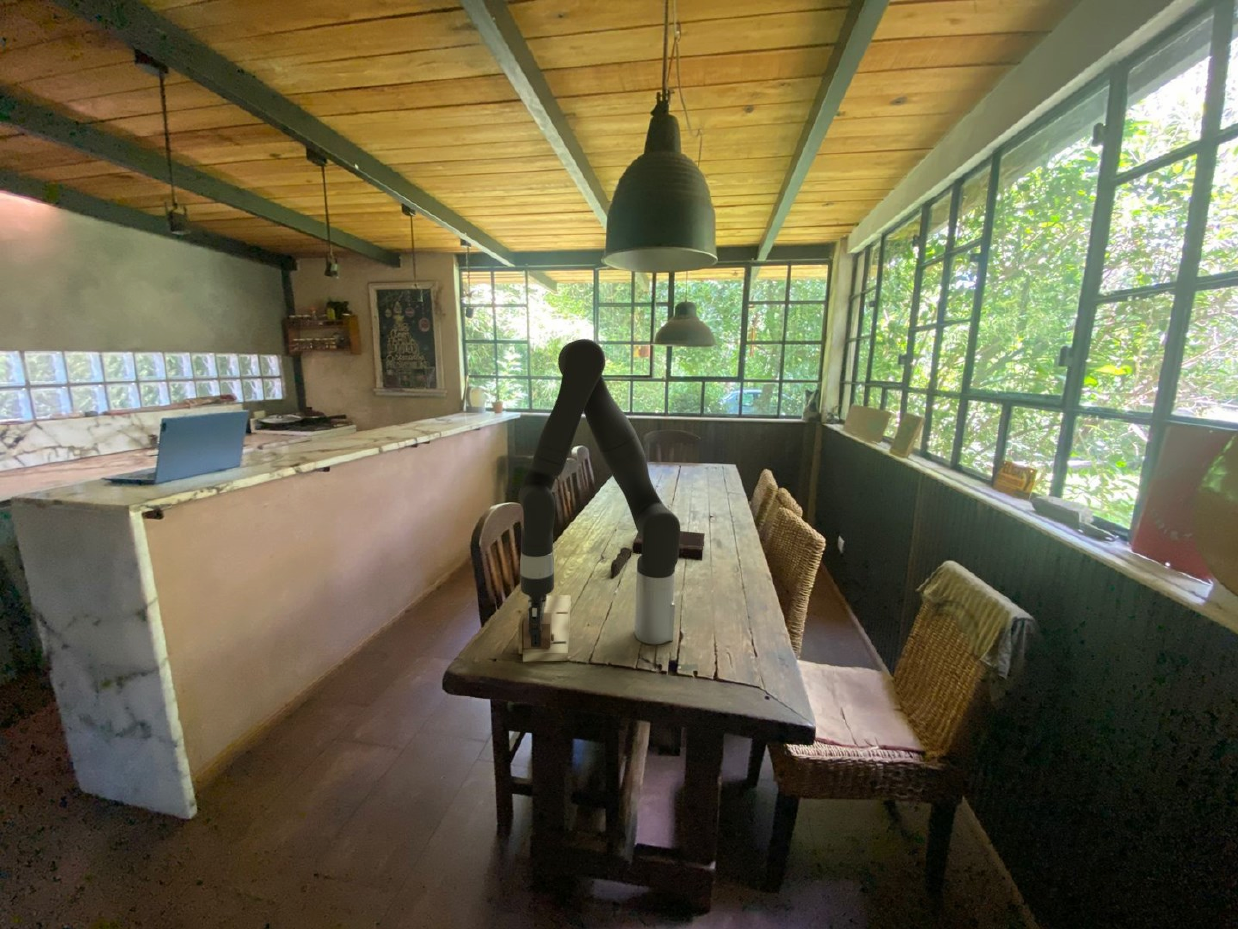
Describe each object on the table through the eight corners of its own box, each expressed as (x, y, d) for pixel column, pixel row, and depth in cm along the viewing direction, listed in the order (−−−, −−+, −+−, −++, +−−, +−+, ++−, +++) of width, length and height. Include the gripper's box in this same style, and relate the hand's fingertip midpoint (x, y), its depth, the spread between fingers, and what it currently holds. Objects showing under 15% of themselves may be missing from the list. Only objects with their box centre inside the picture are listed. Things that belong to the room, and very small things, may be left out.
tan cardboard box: (554, 640, 114) (554, 612, 113) (553, 653, 109) (553, 623, 108) (521, 641, 113) (521, 613, 112) (518, 653, 109) (518, 624, 107)
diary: (702, 562, 168) (702, 549, 167) (632, 555, 173) (632, 542, 172) (704, 543, 186) (705, 531, 185) (641, 537, 191) (641, 525, 190)
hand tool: (620, 556, 170) (620, 544, 169) (631, 558, 169) (631, 545, 168) (603, 578, 152) (603, 564, 151) (615, 580, 151) (616, 566, 150)
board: (570, 601, 136) (570, 594, 135) (567, 660, 108) (567, 651, 108) (535, 602, 135) (535, 595, 134) (522, 661, 107) (522, 652, 107)
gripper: (552, 583, 101) (552, 653, 104) (555, 558, 115) (555, 619, 118) (516, 584, 100) (517, 654, 104) (524, 558, 114) (525, 620, 117)
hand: (537, 635), depth 111 cm, fingers open, 8 cm apart
